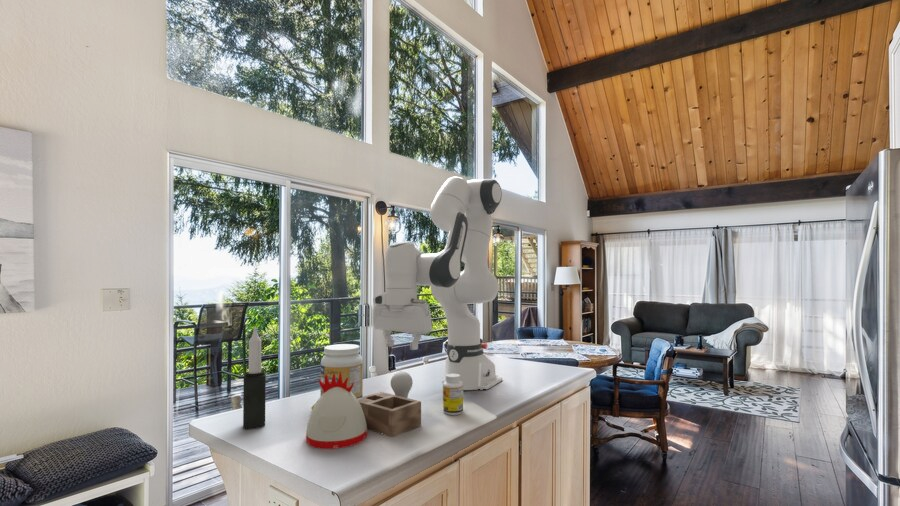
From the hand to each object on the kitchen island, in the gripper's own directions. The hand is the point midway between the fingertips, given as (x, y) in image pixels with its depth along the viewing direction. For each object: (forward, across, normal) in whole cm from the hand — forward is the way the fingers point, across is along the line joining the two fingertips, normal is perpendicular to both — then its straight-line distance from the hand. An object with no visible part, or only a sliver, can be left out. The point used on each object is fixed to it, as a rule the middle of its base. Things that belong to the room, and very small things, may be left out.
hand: (401, 347), depth 123 cm
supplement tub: (+18, +19, +6) cm, 27 cm away
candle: (+18, +22, +31) cm, 42 cm away
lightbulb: (+18, 0, 0) cm, 18 cm away
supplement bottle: (+18, -12, -8) cm, 23 cm away
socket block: (+18, -4, +10) cm, 21 cm away
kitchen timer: (+18, -1, +23) cm, 29 cm away
